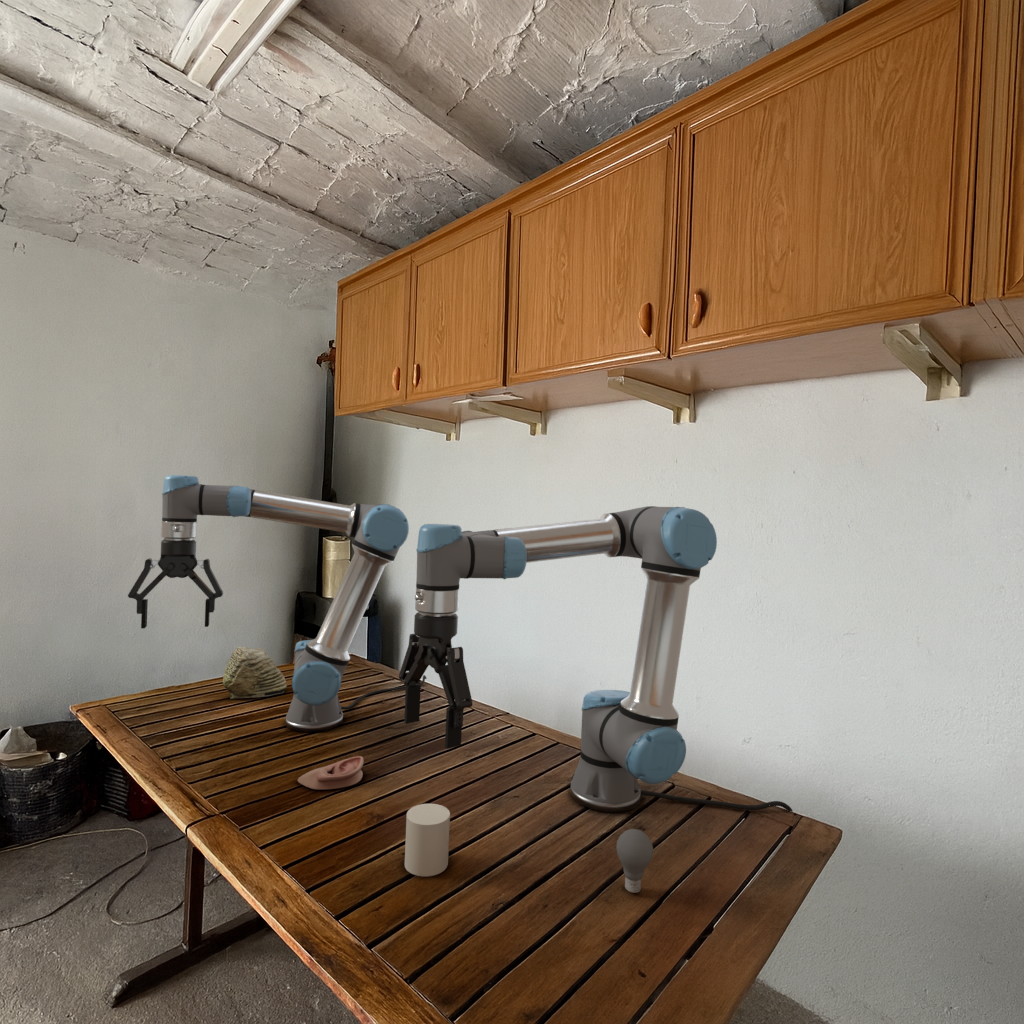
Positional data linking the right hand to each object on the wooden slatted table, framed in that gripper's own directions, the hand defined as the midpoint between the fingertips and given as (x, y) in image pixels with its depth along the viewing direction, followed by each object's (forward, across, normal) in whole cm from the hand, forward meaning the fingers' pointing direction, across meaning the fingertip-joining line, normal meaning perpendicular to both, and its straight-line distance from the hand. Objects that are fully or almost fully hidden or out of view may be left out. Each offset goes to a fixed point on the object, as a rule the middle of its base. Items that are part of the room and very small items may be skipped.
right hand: (431, 733), depth 111 cm
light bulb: (+23, +26, +24) cm, 42 cm away
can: (+23, 0, 0) cm, 23 cm away
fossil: (+23, -109, +4) cm, 111 cm away
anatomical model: (+23, -40, -1) cm, 46 cm away
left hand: (-7, -76, -26) cm, 81 cm away
